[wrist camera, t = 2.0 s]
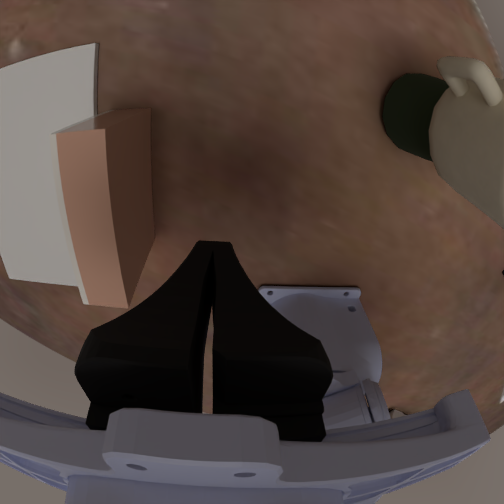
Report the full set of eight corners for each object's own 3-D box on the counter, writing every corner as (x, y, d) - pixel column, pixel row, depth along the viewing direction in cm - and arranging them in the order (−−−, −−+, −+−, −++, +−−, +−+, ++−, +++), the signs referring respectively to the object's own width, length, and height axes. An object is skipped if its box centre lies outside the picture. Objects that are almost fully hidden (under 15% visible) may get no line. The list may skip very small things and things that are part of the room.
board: (98, 43, 14) (95, 43, 14) (117, 285, 25) (115, 289, 25) (-25, 79, 13) (-29, 80, 13) (12, 275, 24) (9, 278, 23)
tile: (151, 107, 18) (105, 128, 11) (155, 237, 23) (128, 308, 16) (110, 110, 17) (49, 134, 11) (119, 236, 23) (83, 303, 16)
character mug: (470, 134, 19) (588, 201, 8) (421, 189, 22) (527, 287, 11) (395, 29, 15) (542, 24, 4) (334, 91, 18) (464, 128, 7)
